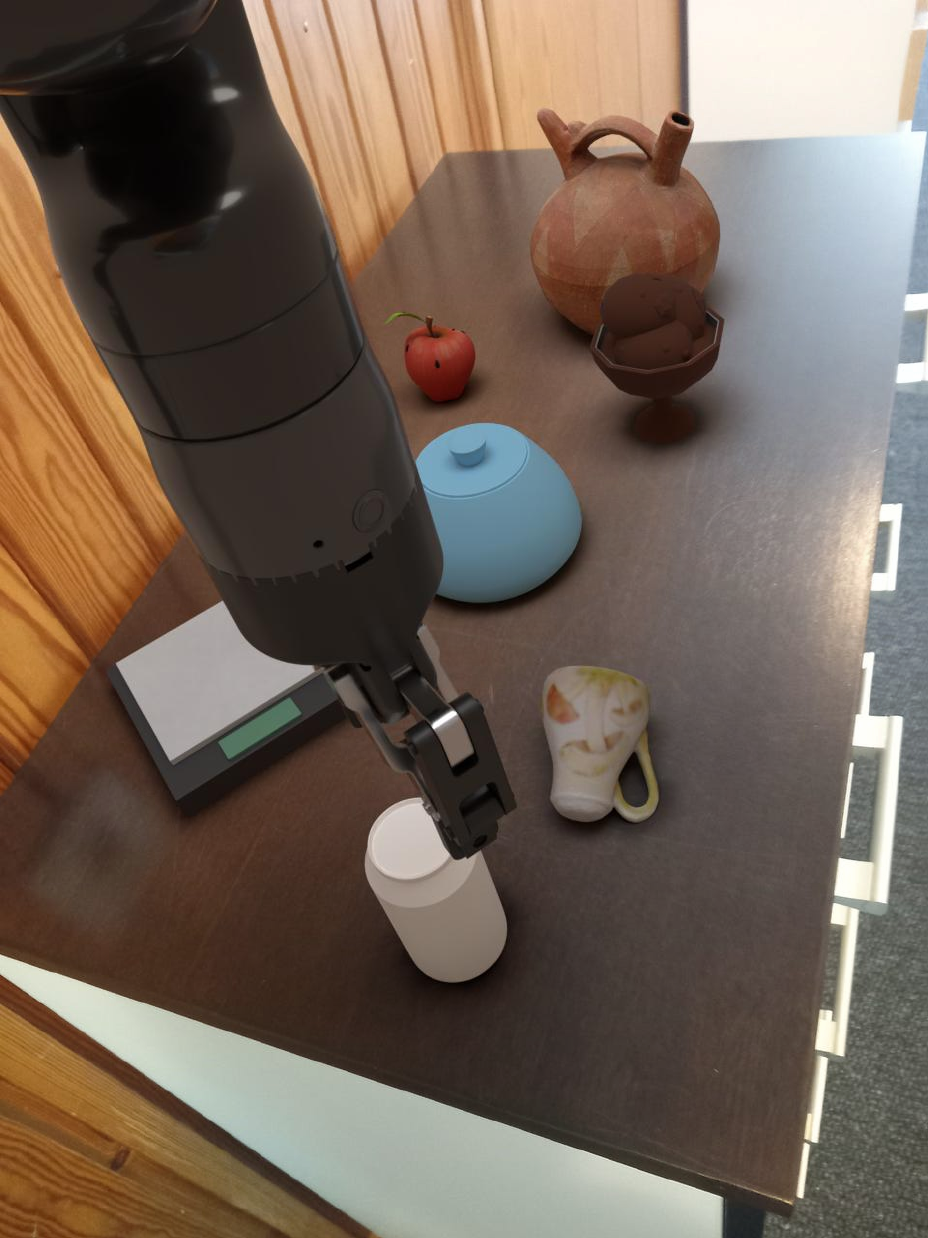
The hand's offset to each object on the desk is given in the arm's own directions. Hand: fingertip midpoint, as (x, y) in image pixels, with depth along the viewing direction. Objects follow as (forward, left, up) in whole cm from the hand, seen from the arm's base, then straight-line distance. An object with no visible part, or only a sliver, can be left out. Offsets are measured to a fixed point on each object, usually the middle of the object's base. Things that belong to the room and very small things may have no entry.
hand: (420, 774), depth 44 cm
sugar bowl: (+20, +31, -22) cm, 44 cm away
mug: (+13, +8, -22) cm, 27 cm away
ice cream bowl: (+40, +33, -22) cm, 57 cm away
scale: (-4, +32, -22) cm, 40 cm away
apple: (+29, +53, -22) cm, 65 cm away
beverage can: (-1, +4, -22) cm, 23 cm away
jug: (+50, +50, -22) cm, 75 cm away
